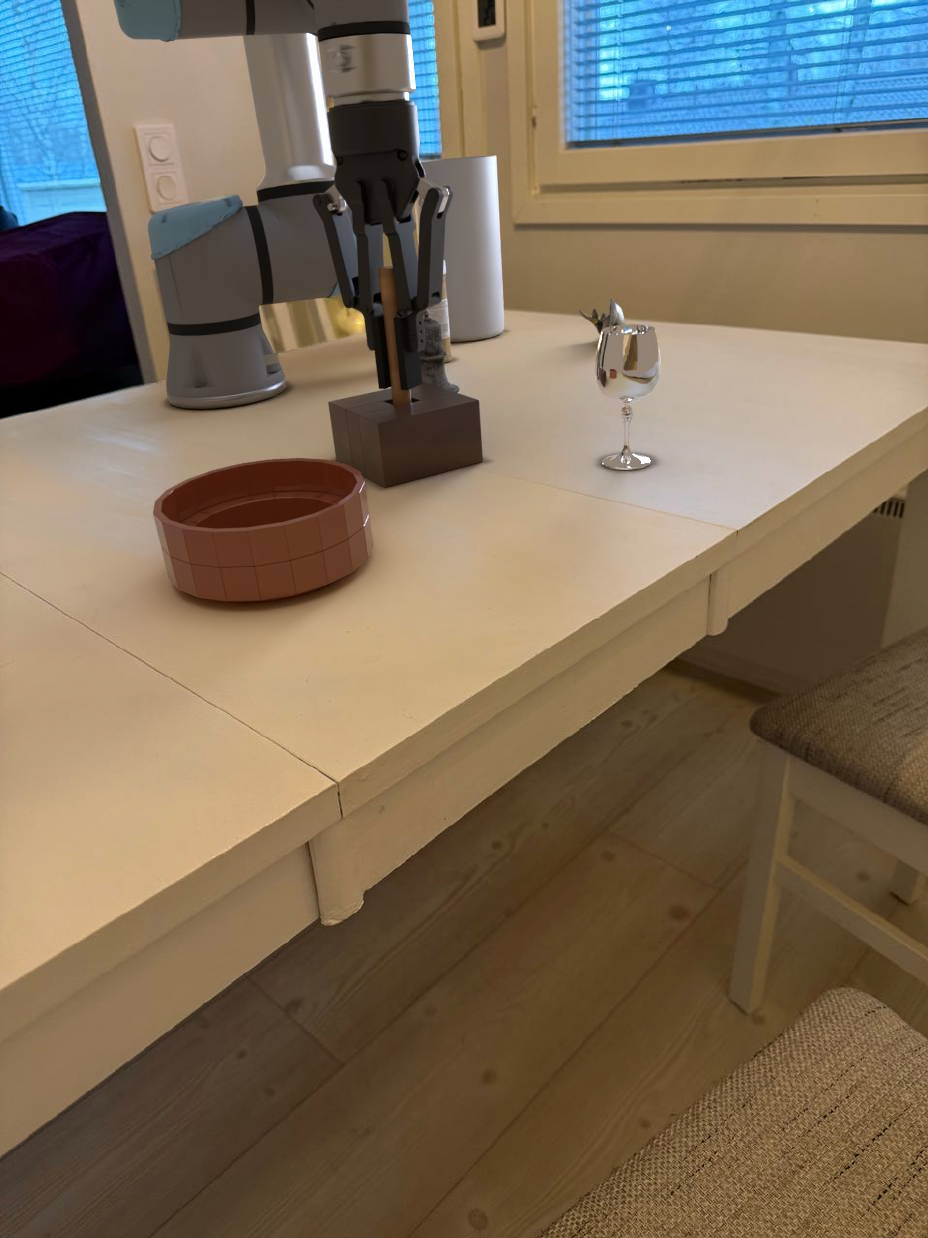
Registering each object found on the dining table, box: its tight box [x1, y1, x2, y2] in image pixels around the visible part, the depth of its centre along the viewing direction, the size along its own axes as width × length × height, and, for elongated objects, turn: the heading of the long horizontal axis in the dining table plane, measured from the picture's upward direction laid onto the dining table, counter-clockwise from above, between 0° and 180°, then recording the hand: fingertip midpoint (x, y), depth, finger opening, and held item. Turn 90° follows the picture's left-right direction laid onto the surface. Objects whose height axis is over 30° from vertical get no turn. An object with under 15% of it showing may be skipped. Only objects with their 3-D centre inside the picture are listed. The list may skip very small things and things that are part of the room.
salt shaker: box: [419, 310, 460, 393], centre depth 99 cm, size 6×6×12 cm
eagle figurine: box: [578, 298, 627, 336], centre depth 130 cm, size 8×7×9 cm
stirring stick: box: [378, 265, 412, 406], centre depth 86 cm, size 2×2×18 cm
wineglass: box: [594, 323, 662, 471], centre depth 82 cm, size 6×6×12 cm
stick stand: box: [327, 381, 484, 488], centre depth 89 cm, size 11×11×6 cm
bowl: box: [152, 457, 374, 603], centre depth 68 cm, size 15×15×6 cm
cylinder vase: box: [414, 154, 505, 343], centre depth 139 cm, size 12×12×25 cm
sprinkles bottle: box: [427, 260, 453, 363], centre depth 126 cm, size 5×5×14 cm
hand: (400, 385), depth 86 cm, fingers closed on stirring stick, 2 cm apart
